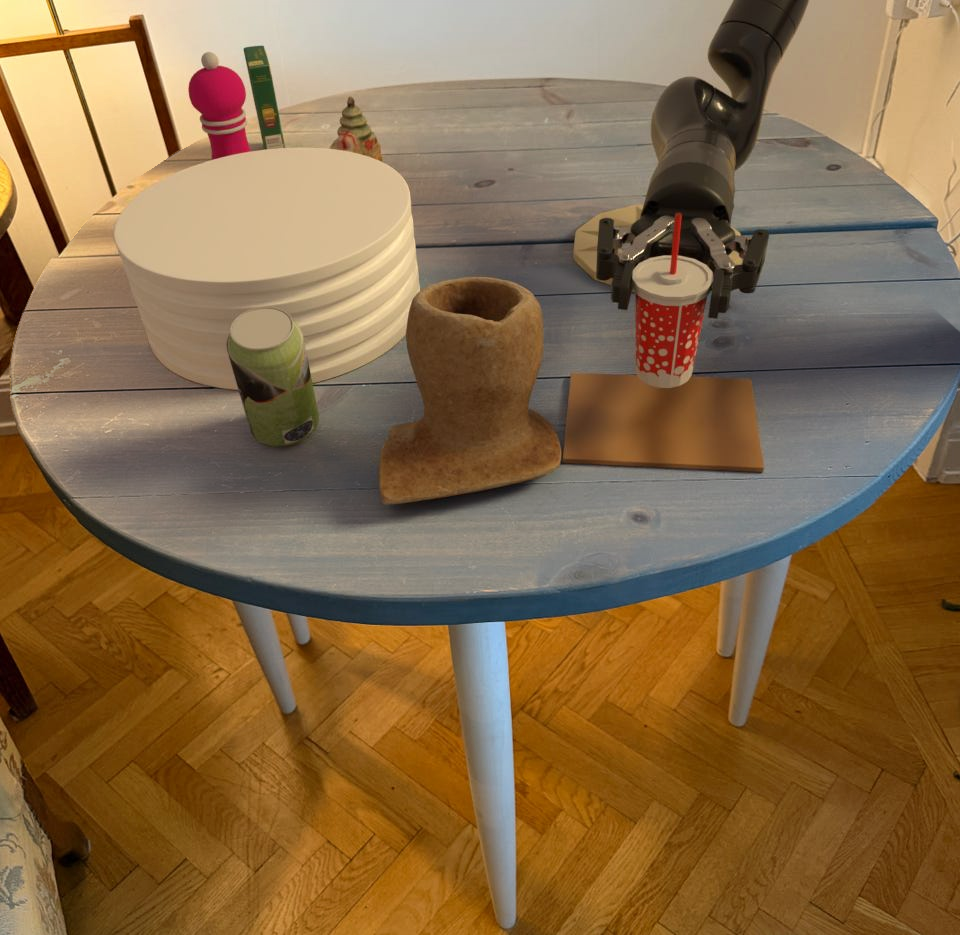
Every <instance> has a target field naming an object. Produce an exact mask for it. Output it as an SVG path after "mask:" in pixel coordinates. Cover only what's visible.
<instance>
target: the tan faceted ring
mask: <svg viewBox="0 0 960 935" xmlns="http://www.w3.org/2000/svg"><path fill="white" fill-rule="evenodd" d="M643 206H644V204H633V205H629V206H624V207H620V208H617V209H612V210H609V211H605V212H601V213H597V214H596V215H595V216H593V217H592V218H591V219H590V220H588V221H586V222H585V223H584V224H582V225H581V226H580V227H579V228H577V229H576V230H575V232H574V233H575V234H574V240H573V241H574V242H573V249H572V257H573V258H572V259H573V261H574V262H575V263H576V264H577V265H578V266H579V267H580V268H582V270H584V272H585V273H586V274H588V275H589V276H590V277H591V278H592V280H594V281H597V282H600V283H604V284H606V285H609V286H612V280H613V278H610V279H609V280H605V281H602V280H598V279H597V278H596V265H597V244H598V232H599V221H600V219H602V218H611V219H613V220H614V226H618V227H631V226H632V224H633V223H634V222H636V221H637V220H639V219H640V216H641V213H642V209H643ZM730 227H731V228H732V229H733V230H734V231H735V235H737V236H742V234H741V232H740V231H738V230H737V229H736V228H734V226H733V227H732V225H731V226H730ZM623 251H624V250H623V249H622V248H619V249H618V254H616V255H619V254H620V253H622V252H623ZM728 256H729V257H730V259H731V260H732V261H733V262H734V263H735V265H742V260H743V259H741V258H740V257H739V254H738V252H736V251H732V253H731V254H730V255H728ZM632 293H635V291H634V289H633V290H632Z"/></svg>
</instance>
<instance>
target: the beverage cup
mask: <svg viewBox="0 0 960 935" xmlns="http://www.w3.org/2000/svg"><path fill="white" fill-rule="evenodd" d="M681 218H682V214H681V213H676V214H675V223H674V233H673V244H672V255H671V256H669V255H664V256H658V257H653V258H649V259H647V260H645V261H643V262H641V263H639V264H638V265H637V266H636V267H635V269H634V270H633V275H632V288H633V289H634V291H635V292H634V293H635V304H634V305H635V307H634V308H635V375H637V376H638V378H639V379H640V380H641V381H643V382H644V383H646V384H647V385H651V386H654V387H658V388H672V387H677V386H680V385H682V384H684V383H686V382H687V381H688V380H689V379H690V377H693V376H692V375H693V371H694V365H695V360H696V355H697V350H698V346H699V341H700V335H701V330H702V325H703V320H704V316H705V311H706V305H707V299H708V296H709V295H710V294H711V293H712V285H713V272H712V271H711V270H710V269H709V267H708V266H707V265H706V264H704V263H702V262H700V261H698V260H696V259H692V258H688V257H683V256H678V249H679V239H680V228H681Z"/></svg>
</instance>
